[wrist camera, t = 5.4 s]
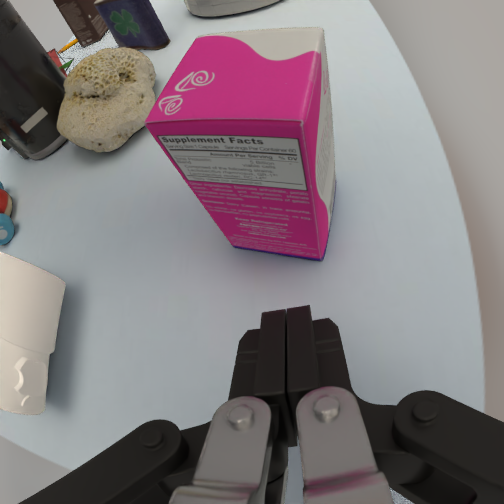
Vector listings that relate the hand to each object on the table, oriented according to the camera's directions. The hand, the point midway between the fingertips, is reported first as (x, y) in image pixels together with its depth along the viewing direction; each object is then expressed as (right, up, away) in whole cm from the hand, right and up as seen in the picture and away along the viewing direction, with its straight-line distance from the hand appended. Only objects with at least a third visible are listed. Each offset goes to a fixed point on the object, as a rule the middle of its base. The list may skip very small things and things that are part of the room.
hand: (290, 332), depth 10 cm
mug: (-19, -4, +11) cm, 22 cm away
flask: (-15, +29, +24) cm, 41 cm away
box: (-27, +39, +31) cm, 57 cm away
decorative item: (-14, +16, +19) cm, 28 cm away
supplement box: (+1, +5, +10) cm, 12 cm away
